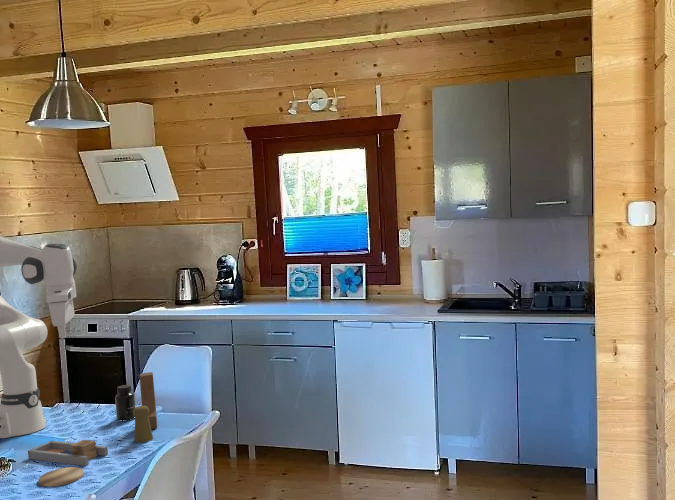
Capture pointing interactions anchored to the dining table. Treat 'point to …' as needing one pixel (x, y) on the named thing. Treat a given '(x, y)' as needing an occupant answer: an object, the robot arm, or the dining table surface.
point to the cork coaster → (61, 476)
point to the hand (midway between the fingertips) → (65, 335)
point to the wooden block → (148, 397)
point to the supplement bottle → (124, 403)
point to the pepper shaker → (142, 424)
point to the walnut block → (84, 449)
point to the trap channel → (61, 453)
